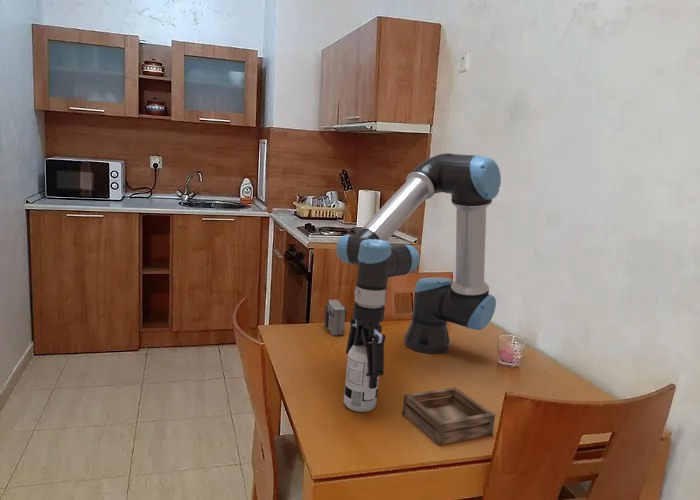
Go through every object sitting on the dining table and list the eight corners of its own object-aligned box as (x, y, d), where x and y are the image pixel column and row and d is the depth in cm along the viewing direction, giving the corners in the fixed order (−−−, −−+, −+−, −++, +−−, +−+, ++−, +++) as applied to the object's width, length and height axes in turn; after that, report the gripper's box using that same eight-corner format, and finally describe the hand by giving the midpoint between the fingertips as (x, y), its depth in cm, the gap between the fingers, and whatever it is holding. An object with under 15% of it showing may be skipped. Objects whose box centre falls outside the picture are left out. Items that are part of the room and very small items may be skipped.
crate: (453, 405, 145) (455, 387, 144) (492, 434, 131) (495, 414, 130) (402, 413, 138) (404, 394, 137) (438, 445, 124) (440, 424, 124)
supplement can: (342, 397, 144) (347, 342, 141) (374, 398, 145) (379, 343, 142) (344, 412, 136) (349, 354, 133) (378, 413, 137) (384, 355, 134)
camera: (323, 325, 199) (325, 298, 197) (338, 325, 200) (341, 298, 199) (329, 336, 188) (331, 308, 186) (346, 336, 190) (348, 308, 188)
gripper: (337, 292, 143) (330, 376, 147) (376, 318, 125) (367, 412, 129) (363, 291, 146) (355, 373, 150) (405, 316, 128) (395, 408, 132)
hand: (361, 391), depth 140 cm, fingers closed on supplement can, 8 cm apart
